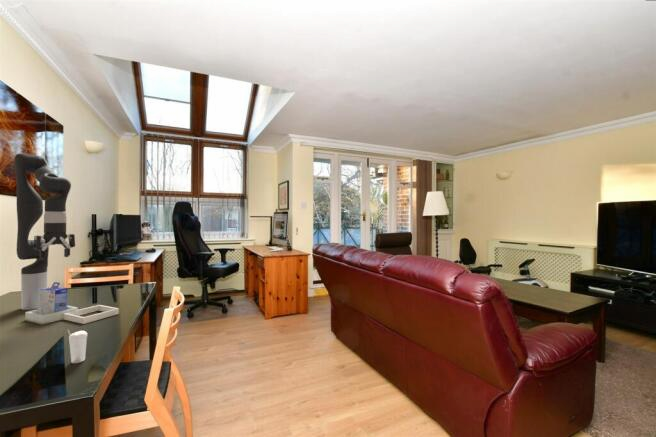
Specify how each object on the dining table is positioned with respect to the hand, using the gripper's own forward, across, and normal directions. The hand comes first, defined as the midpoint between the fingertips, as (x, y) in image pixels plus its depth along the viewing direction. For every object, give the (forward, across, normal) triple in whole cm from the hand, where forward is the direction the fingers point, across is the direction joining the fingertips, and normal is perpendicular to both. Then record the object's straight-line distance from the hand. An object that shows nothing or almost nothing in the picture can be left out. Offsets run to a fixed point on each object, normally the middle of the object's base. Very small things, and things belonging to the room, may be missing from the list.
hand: (55, 258), depth 136 cm
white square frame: (+26, -7, +14) cm, 31 cm away
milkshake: (+26, +21, +56) cm, 66 cm away
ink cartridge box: (+26, +1, 0) cm, 26 cm away
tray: (+26, +1, 0) cm, 26 cm away
